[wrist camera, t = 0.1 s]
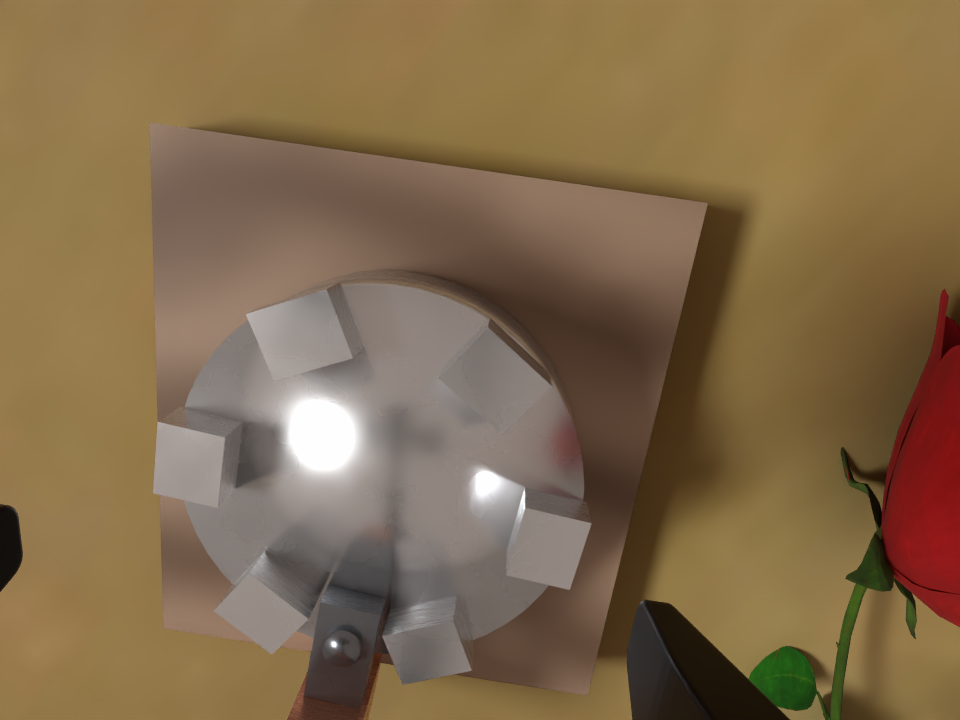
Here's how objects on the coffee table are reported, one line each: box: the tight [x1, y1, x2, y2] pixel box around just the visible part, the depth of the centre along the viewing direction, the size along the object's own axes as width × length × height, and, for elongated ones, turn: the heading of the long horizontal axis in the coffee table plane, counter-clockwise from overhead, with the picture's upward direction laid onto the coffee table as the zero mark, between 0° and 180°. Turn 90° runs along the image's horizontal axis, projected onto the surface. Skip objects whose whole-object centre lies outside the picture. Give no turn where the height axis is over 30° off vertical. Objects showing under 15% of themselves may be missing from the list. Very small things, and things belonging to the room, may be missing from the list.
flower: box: [749, 289, 960, 720], centre depth 21 cm, size 9×10×30 cm
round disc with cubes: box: [153, 270, 592, 720], centre depth 19 cm, size 18×13×7 cm
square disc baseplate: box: [150, 123, 708, 695], centre depth 22 cm, size 20×18×2 cm
